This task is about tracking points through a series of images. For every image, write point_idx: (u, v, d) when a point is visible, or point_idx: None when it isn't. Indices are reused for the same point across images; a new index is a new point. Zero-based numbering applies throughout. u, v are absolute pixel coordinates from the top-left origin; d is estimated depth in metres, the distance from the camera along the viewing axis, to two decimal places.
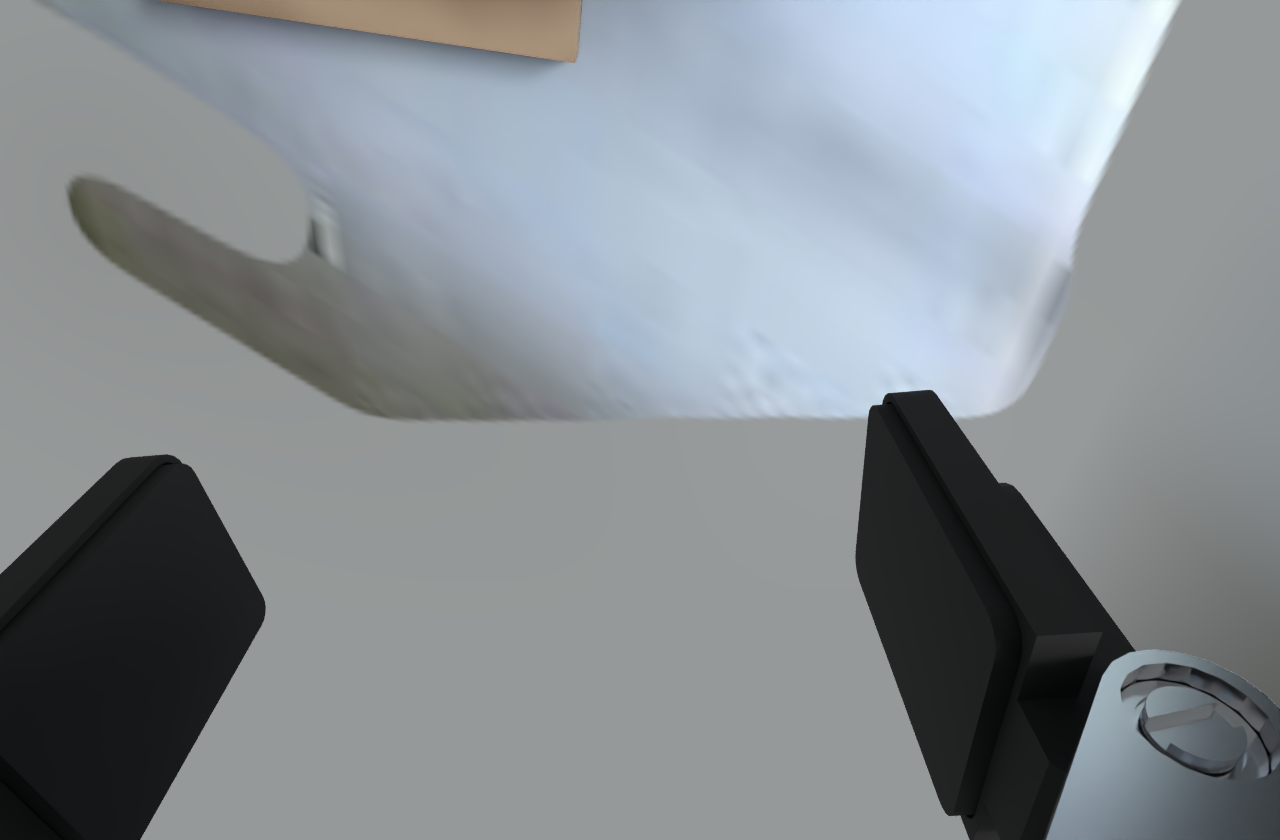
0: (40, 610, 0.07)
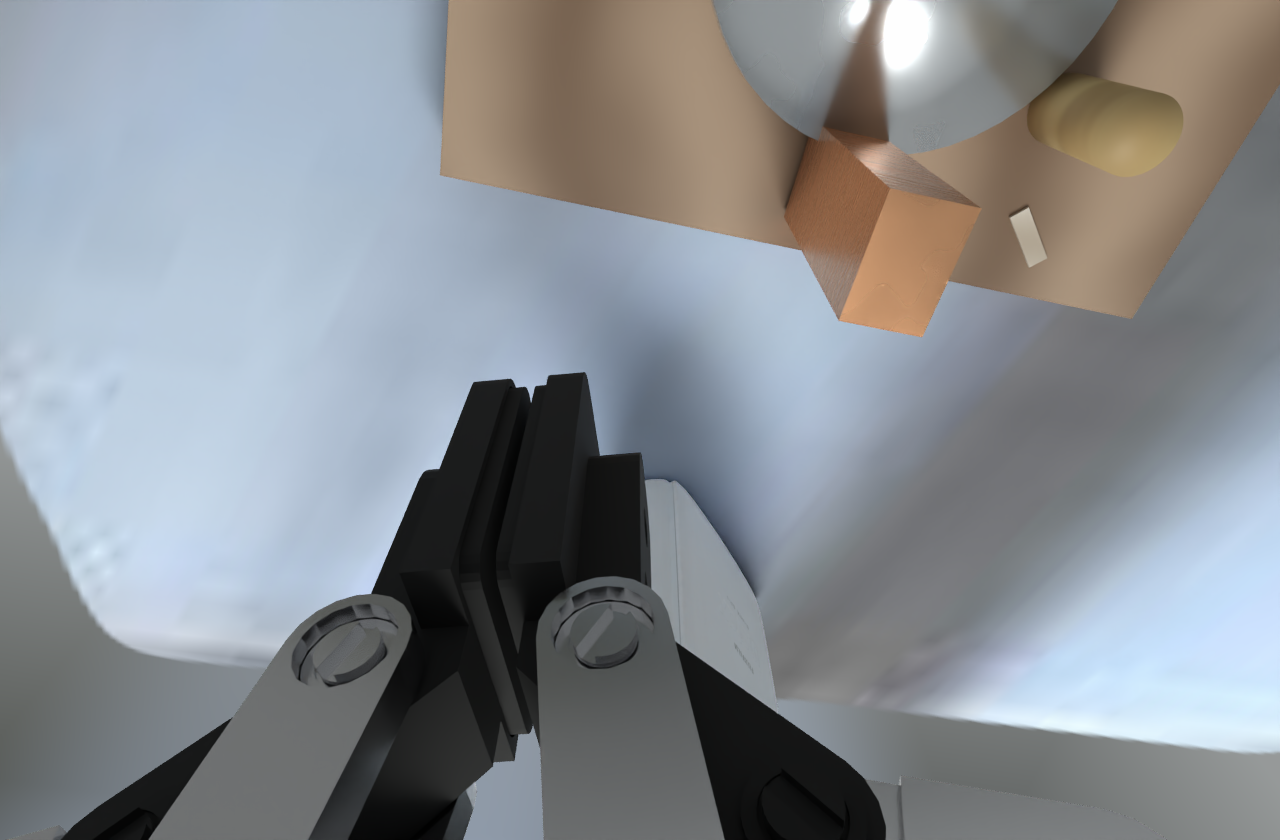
0: (490, 497, 0.08)
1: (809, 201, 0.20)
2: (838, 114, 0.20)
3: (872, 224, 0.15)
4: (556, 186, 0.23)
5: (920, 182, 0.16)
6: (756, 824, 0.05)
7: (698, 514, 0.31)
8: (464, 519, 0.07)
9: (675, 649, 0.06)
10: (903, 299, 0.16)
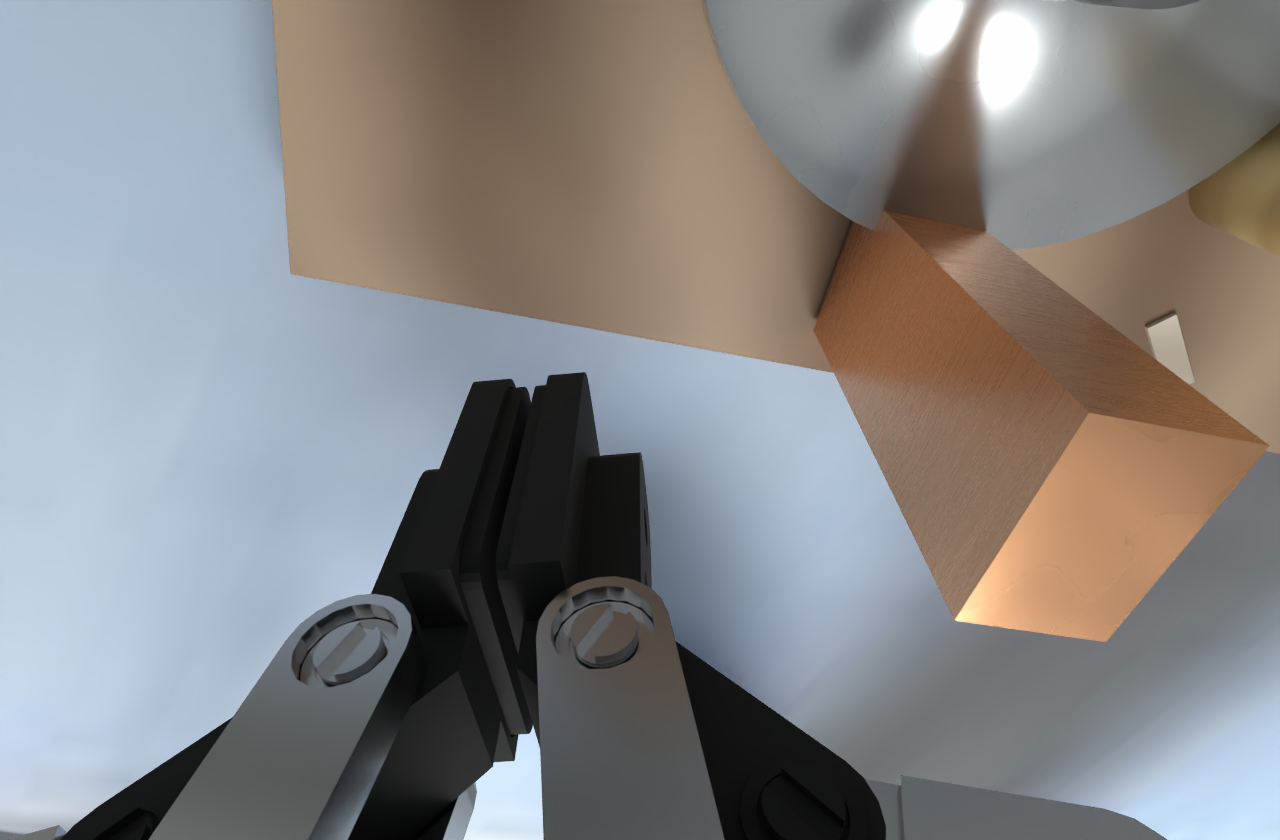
0: (490, 497, 0.08)
1: (861, 328, 0.13)
2: (908, 190, 0.12)
3: (1036, 467, 0.07)
4: (469, 288, 0.15)
5: (1111, 363, 0.08)
6: (756, 824, 0.05)
7: None
8: (465, 520, 0.07)
9: (676, 649, 0.06)
10: (1081, 588, 0.08)
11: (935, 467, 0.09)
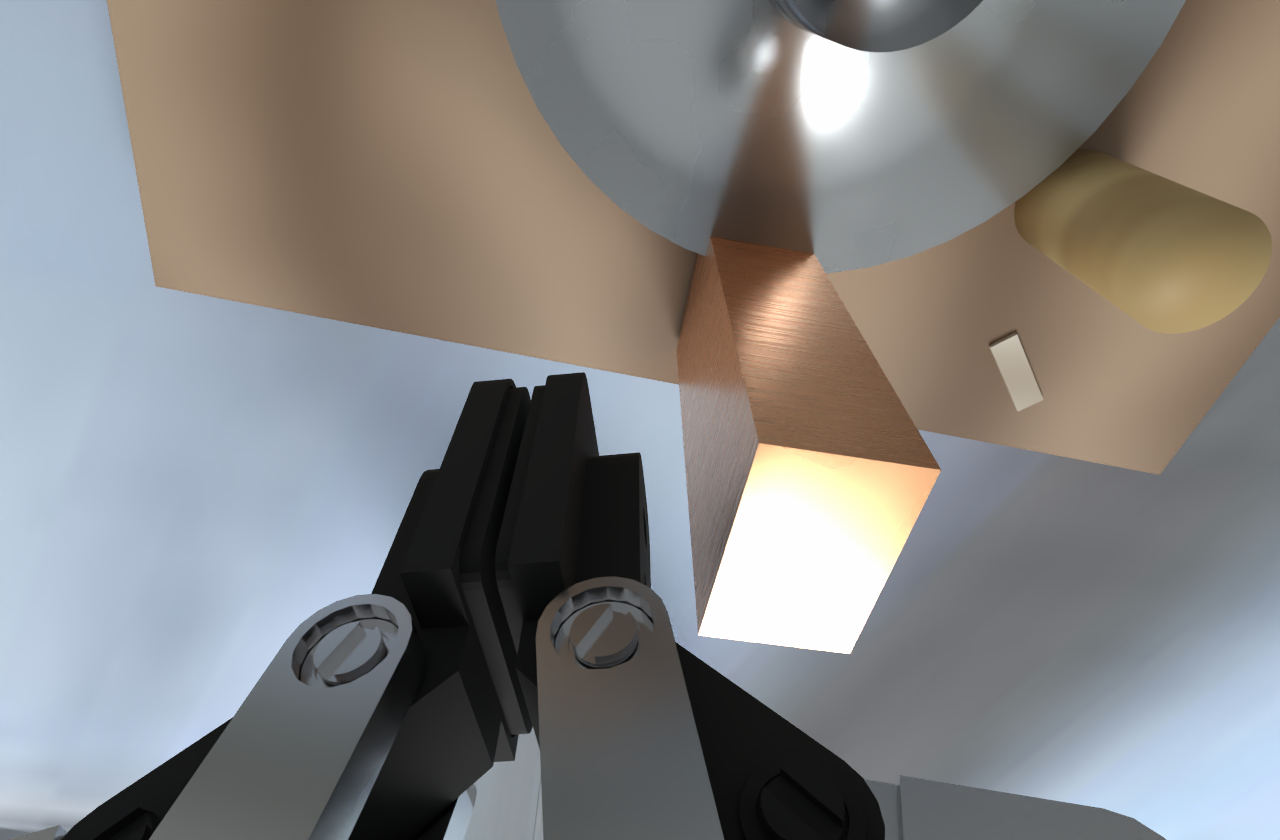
0: (490, 497, 0.08)
1: (692, 351, 0.13)
2: (732, 217, 0.13)
3: (738, 492, 0.08)
4: (329, 302, 0.15)
5: (833, 390, 0.09)
6: (755, 824, 0.05)
7: None
8: (465, 520, 0.07)
9: (675, 649, 0.06)
10: (809, 604, 0.09)
11: (705, 488, 0.10)
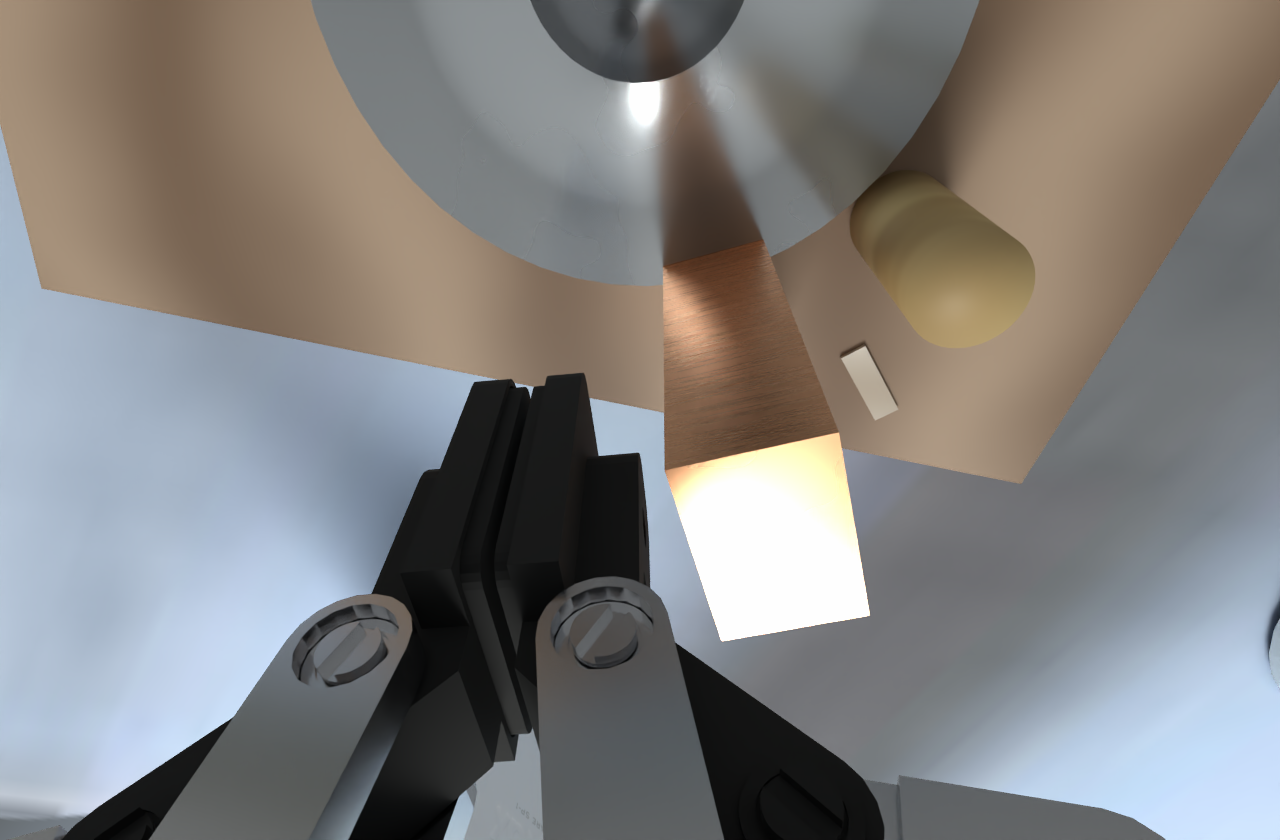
0: (491, 497, 0.08)
1: None
2: (673, 242, 0.14)
3: (681, 512, 0.09)
4: (206, 305, 0.16)
5: (749, 386, 0.09)
6: (755, 824, 0.05)
7: None
8: (467, 519, 0.07)
9: (675, 649, 0.06)
10: (801, 584, 0.09)
11: None
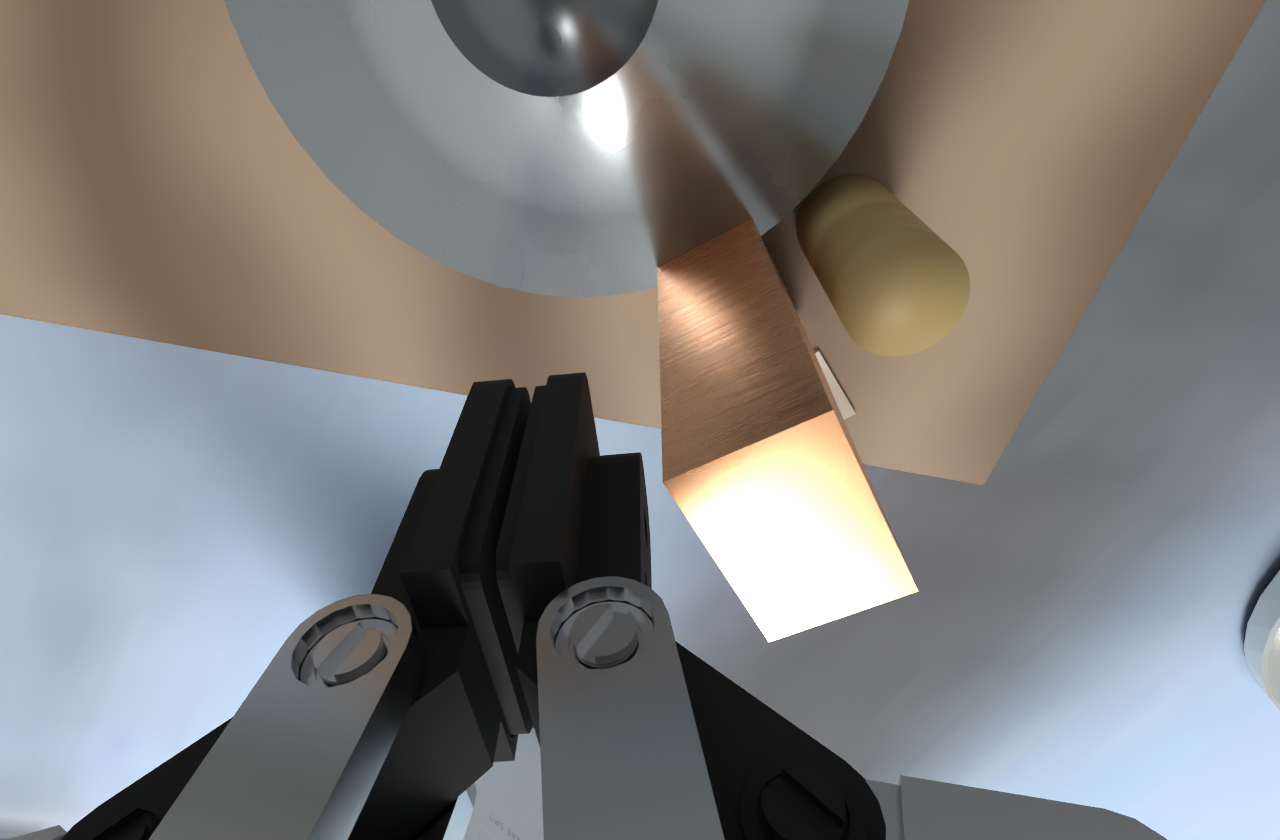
0: (490, 497, 0.08)
1: None
2: (661, 241, 0.13)
3: (694, 520, 0.08)
4: (151, 325, 0.16)
5: (742, 377, 0.09)
6: (756, 824, 0.05)
7: None
8: (465, 519, 0.07)
9: (675, 649, 0.06)
10: (836, 571, 0.09)
11: None
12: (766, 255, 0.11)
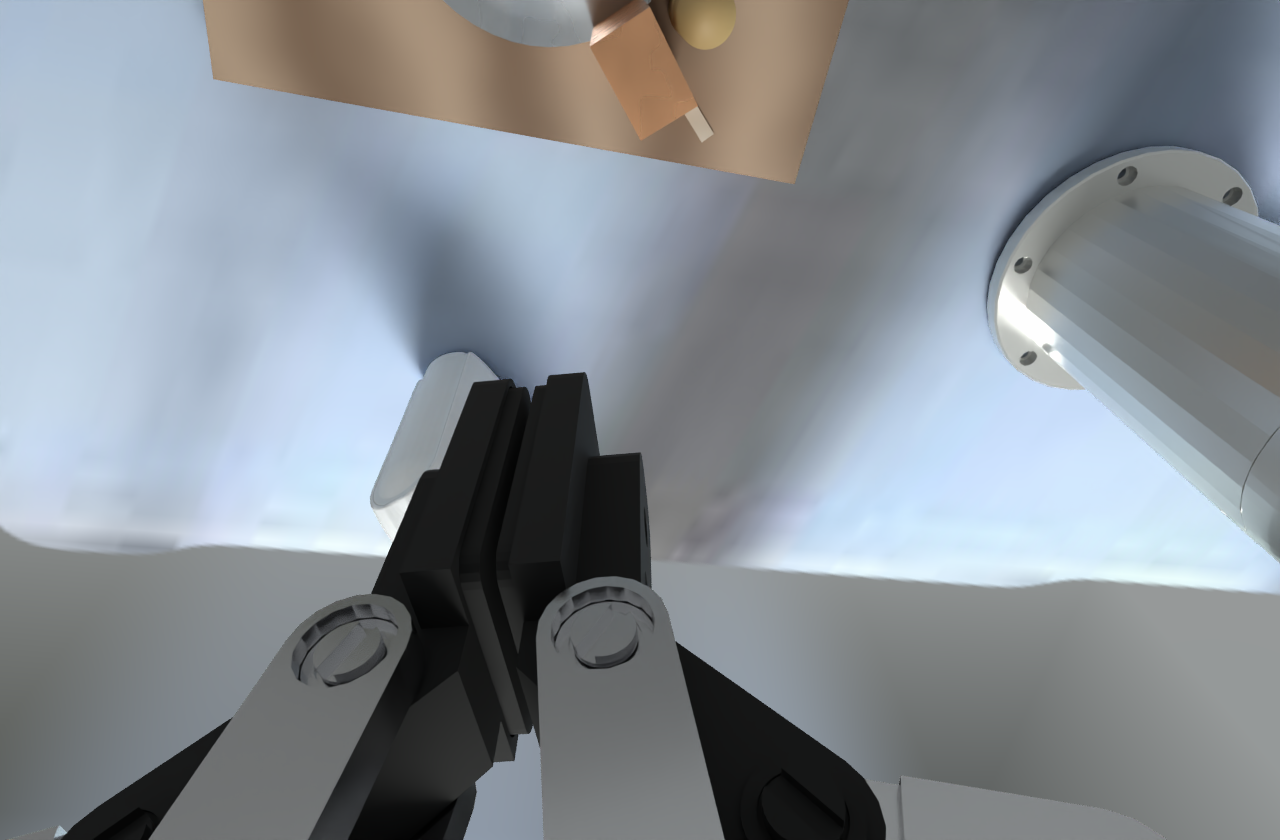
0: (490, 497, 0.08)
1: None
2: (594, 11, 0.26)
3: (604, 73, 0.21)
4: (309, 85, 0.28)
5: (622, 20, 0.21)
6: (755, 823, 0.05)
7: (491, 378, 0.36)
8: (465, 520, 0.07)
9: (675, 649, 0.06)
10: (663, 95, 0.21)
11: None
12: None
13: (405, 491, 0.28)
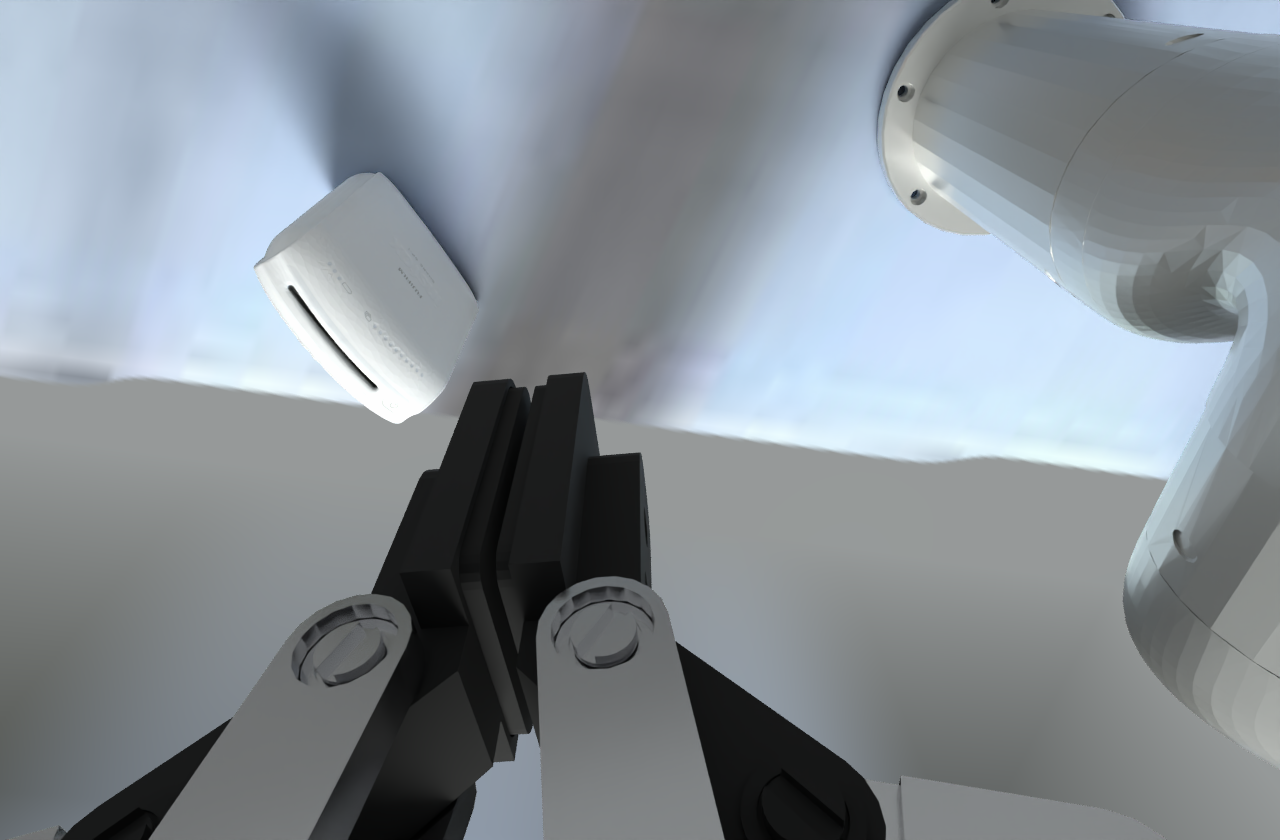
0: (490, 497, 0.08)
1: None
2: None
3: None
4: None
5: None
6: (756, 824, 0.05)
7: (398, 198, 0.38)
8: (466, 520, 0.07)
9: (675, 649, 0.06)
10: None
11: None
12: None
13: (282, 249, 0.30)
